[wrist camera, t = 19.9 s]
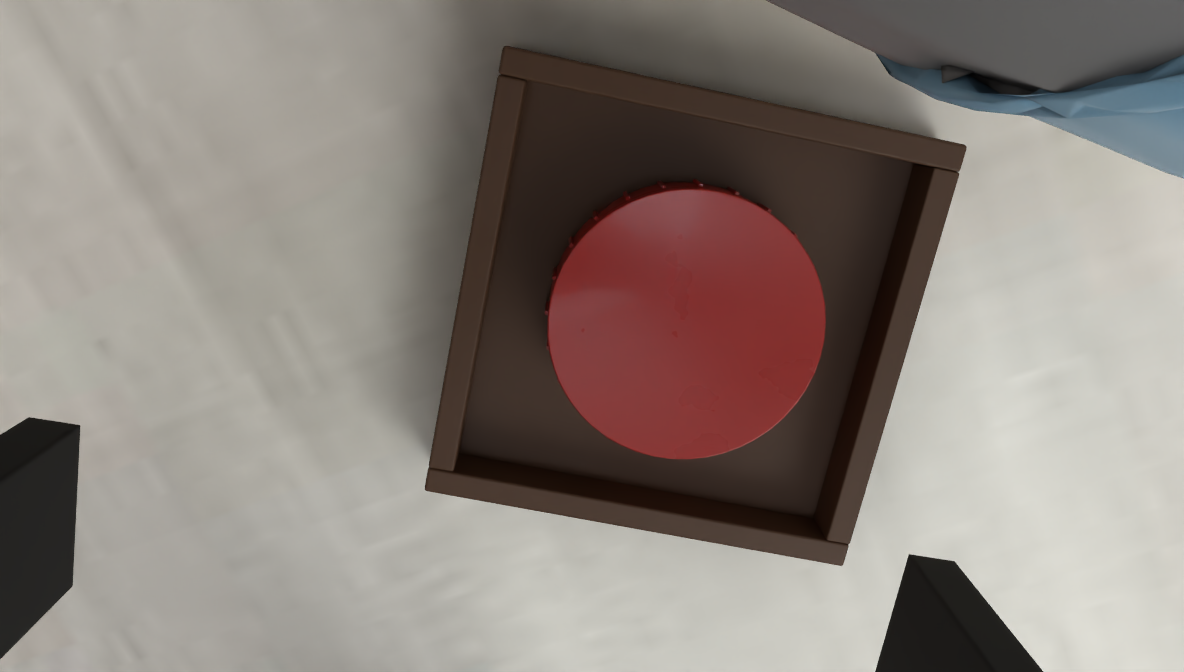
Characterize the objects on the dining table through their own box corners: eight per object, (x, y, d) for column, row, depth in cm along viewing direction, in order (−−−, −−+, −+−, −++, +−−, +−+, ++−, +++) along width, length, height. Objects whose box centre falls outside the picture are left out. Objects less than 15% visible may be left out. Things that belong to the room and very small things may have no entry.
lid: (771, 460, 28) (785, 485, 26) (522, 408, 27) (519, 432, 26) (842, 212, 26) (863, 221, 24) (578, 151, 26) (579, 156, 24)
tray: (508, 48, 26) (502, 44, 24) (938, 141, 26) (968, 145, 24) (433, 464, 28) (423, 491, 26) (825, 535, 29) (843, 567, 27)
